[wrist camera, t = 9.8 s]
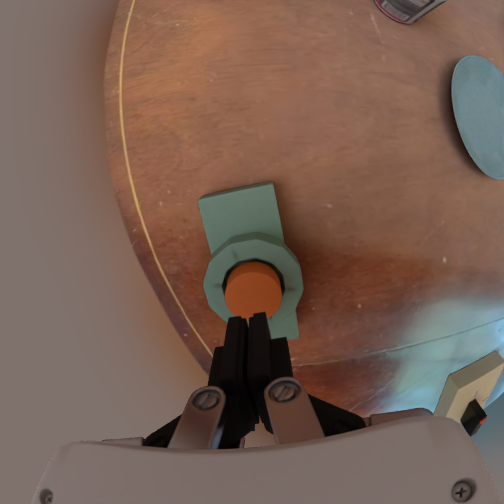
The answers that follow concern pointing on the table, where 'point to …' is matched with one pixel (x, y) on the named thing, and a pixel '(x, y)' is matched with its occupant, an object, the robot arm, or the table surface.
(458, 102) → the saucer
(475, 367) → the panel
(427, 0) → the pill bottle
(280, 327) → the block
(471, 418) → the knob
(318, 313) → the table surface
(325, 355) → the table surface
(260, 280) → the button
